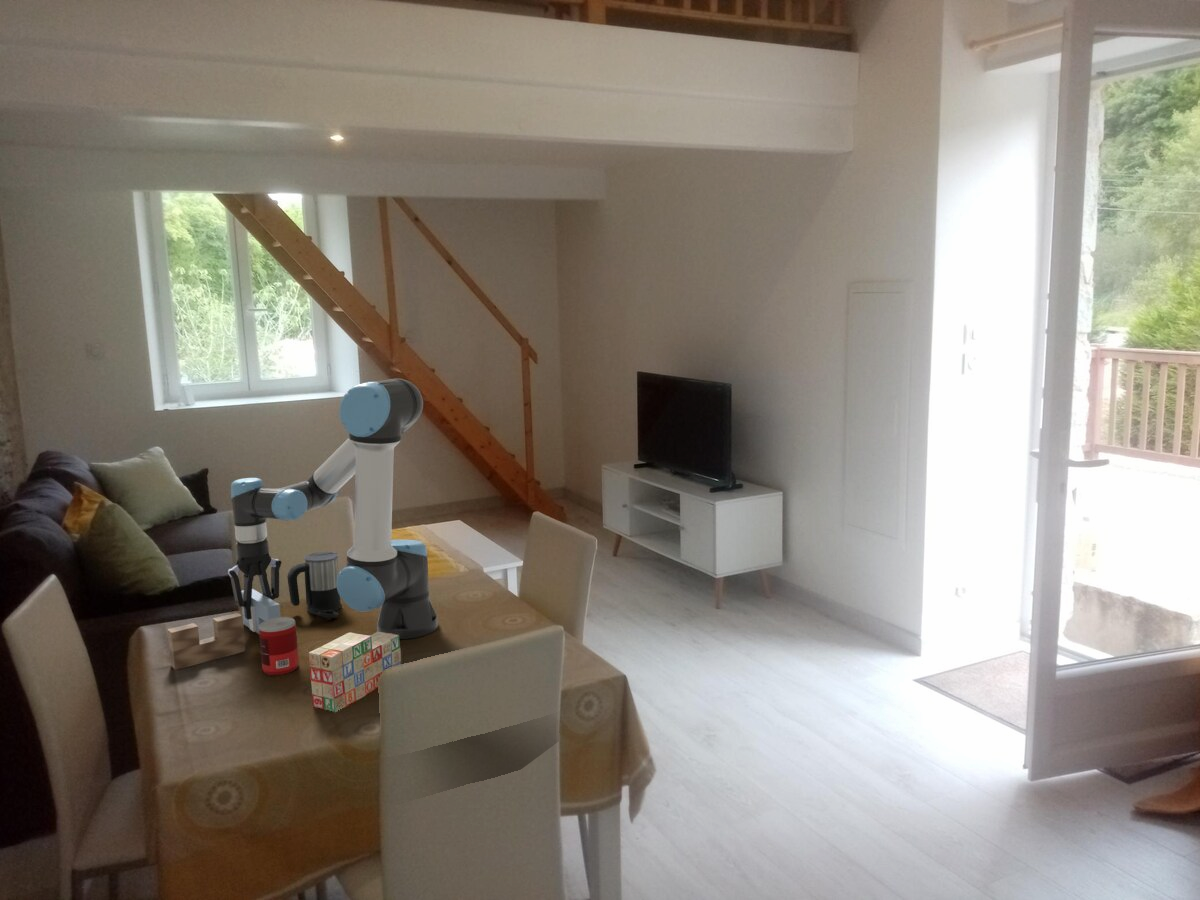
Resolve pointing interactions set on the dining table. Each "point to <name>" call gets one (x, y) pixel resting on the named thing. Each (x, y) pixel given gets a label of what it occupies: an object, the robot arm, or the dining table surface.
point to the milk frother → (317, 584)
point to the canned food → (278, 645)
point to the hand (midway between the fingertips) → (260, 628)
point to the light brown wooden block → (206, 642)
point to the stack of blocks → (350, 667)
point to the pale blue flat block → (262, 609)
